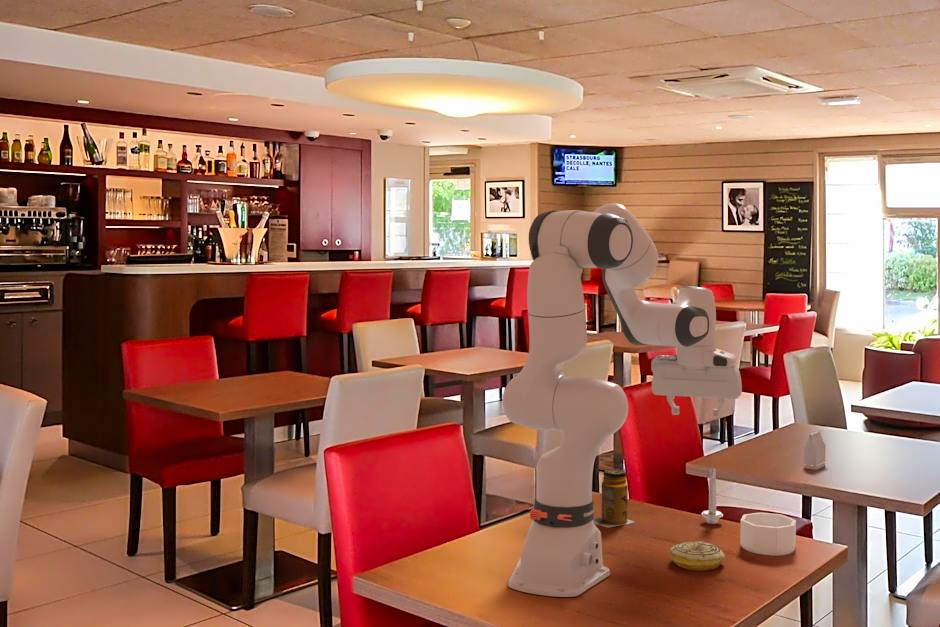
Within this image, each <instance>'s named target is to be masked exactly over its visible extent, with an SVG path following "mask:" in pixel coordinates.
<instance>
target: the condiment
mask: <svg viewBox="0 0 940 627" xmlns="http://www.w3.org/2000/svg"><path fill="white" fill-rule="evenodd" d="M628 486H629V485H628V483H627V472H626V471H625V470H623V469H619V468H617V469H616V468H615V469H614V468H613V469H612V468H611V469H605V470H603V478H602V483H601V516H599V517H594V519H593V522H594V524H595V525H598V526H601V527H602V528H603V527H604V528H607V529H609V528H610V529H611V528H613V527H617V526H619V527H620V526H625V525H630V524H633V523H635V521H634V520H631V519H628V506H629V505H628V495H629V494H628V489H629V487H628Z"/></svg>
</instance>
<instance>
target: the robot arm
mask: <svg viewBox="0 0 940 627" xmlns="http://www.w3.org/2000/svg"><path fill="white" fill-rule="evenodd" d="M528 247H529V250H530V255H531V258H532V260H533V261H532V262H531V263H530V265H529V267H528V268H529V269H528V276H527V285H526V286H527V290H526V297H527V298H526V302H527V304H526V305H527V318H528V329H529V331H528V332H529V335H528V336H529V346H528V347H529V350H528V353H527V354H528V355H527V359H526V361H525V363H524V365H523V367H522V369H521V370H520V371H519V373H518V374H516V375H515V376H514V377H513V378H511V380H509V382H507V385H506V387H505V388H504V391H503V394H502V401H501V402H502V409H503V412H504V414H505V416H506V418H507V420H509V421H510V422H511V423H513V424H515V425H519V426H521V427H525V428H528V429H531V430H541V431H542V430H543V431H552V432H560V433H562V441H561V443H560V445H559V446H557V447H555V448H553V449H551V450H548V451H547V452H545V453H543V454H542V455H541V456H540V458H539V459H538V461H537V463H536V468H535V470H536V471H535V473H536V479H535V480H536V481H535V482H536V484H535V486H536V487H535V491H536V493H535V494H536V497H535V499H534V502H533V506H532V508H531V509H530V512H529V519H530V520H532V522H530V524H529V525H530V526H529V529H528V532H527V534H526V538H525V541H524V543H523V547H522V550H521V552H520V558H519V560H518V561H517V564H516V566H515V568H514V570H513V572H512V574H511V575H510V578H509V580H508V586H507V587H509V588H510V589H513V590H516V591H519V592H523V593H526V594H527V593H528V594H533V595H539V596H545V597H546V596H547V597H555V598H556V597H558V598H559V597H560V598H561V597H562V598H571V597H573V598H574V597H578V596H579V595H581V594H583V593H584V592H586V591H587V590H589V589H590V588H592V587H593V586H595V585H597V584H598V583H600V582H601V581H603V580H605V579H606V578H607V577H609V576H610V575H611V571H610V570H611V569H610V568H609V567H607V566H604V565H603V562H604V561H603V545H602V544H603V543H602V532H601V531H600V529H599V528H598V526H596V524H595V523H594V522H593V519H595V511H596V510H595V508H596V507H595V502H594V499H593V498H592V497H593V496H592V494H593V492H592V491H593V475H594V474H593V473H594V464H595V461H596V460H595V459H596V458H597V454H598V452H599V450H600V448H601V447H602V445H603V444H604V443H605V441H607V439H608V438H609V437H611V436H612V435H614V434H615V433H616V432H617V431H619V430H621V428H622V426H623V425H624V423H625V422H626V420H627V417H628V414H629V413H628V412H629V402H628V398H627V395H626V393H625V391H624V389H623V387H621V386H620V385H619V384H616V383H615V382H614V383H613V382H610V381H607V380H603V379H599V378H595V377H594V378H593V377H579V376H578V377H577V376H568V375H565V374H564V364H566V363H569V362H571V361H573V360H574V359H576V358H578V357H579V356H580V355H582V354H583V352H584V351H585V350H586V348H587V344H588V332H587V329H588V328H587V319H586V318H587V317H586V304H585V297H584V296H585V295H584V289H583V285H582V284H583V283H582V280H581V278H582V273H583V270H584V269H598V268H599V269H601V270H602V272H601V278H602V279H601V280H602V282H603V285H604V288H605V291H606V292H607V295H608V297H609V299H610V302H611V303H612V305H613V306H612V307H613V308H614V309H615V313H616V314H617V317H618V318H619V321H620V327H621V330H622V333H623V335H624V337H625V338H626V340H627V341H628V342H629V343H630V344H632V345H634V346H659V347H673V348H676V355H663V354H659V355H657V356H656V357H654V358H652V360H651V362H650V363H651V366H650V367H651V368H650V369H651V372H652V374H653V375H652V378H651V392H652V393H653V395H655V396H666V401H667V402H668V404H669V406H670V408H671V415H672V416H675V415H676V416H678V415H680V406H679V405H676V403H675V402H674V399H676V398H675V397H691V398H707V399H708V398H709V399H710V398H711V399H712V398H713V399H717V400H718V401H717V403H719V405H718V406H717V408H715V407H714V408H713V409H712V413H713V415H712V417H713V418H721V416H722V408H723V407H724V405H725V403H726V402H727V401H726V400H727V399H730V400H731V399H732V400H737V399H738V398H740V397H741V395H742V394H743V393H742V392H743V389H742V388H743V384H742V377H741V371H740V370H739V368H738V367H737V365H736V362H737V356H736V355H735V354H734V353H731V352H728V351H725V350H722V349H719V348H717V342H716V337H715V331H716V327H717V311H716V309H717V308H716V302H715V296H714V292H713V291H712V290H711V289H710V288H707V287H702V286H700V287H699V286H690V285H689V286H682V287H681V288H679V291H678V297H677V298H676V299H675V300H674V301H672V302H670V303H663V302H662V303H661V302H651V301H647V300H643V299H640V298H639V296H638V293H637V292H636V290H635V288H637V287H639V286H641V285H643V284H645V283H646V282H647V281H648V280H649V279H651V277H652V276H653V275H654V272H656V270H657V267H658V264H659V252H658V249H657V246H656V245H655V243H654V241H653V239H652V238H651V236H650V234H649V233H648V232H647V230H646V229H645V227H644V226H643V225H642V223H641V222H640V221H639V219H637V217H636V216H635V215H634V214H633V213H632V212H631V211H630V210H629V209H628V208H626V206H624V205H623V204H620V203H613V202H612V203H611V202H610V203H606V204H603V205H601V206H599V207H597V208H596V209H595V210H593V211H585V210H582V209H574V210H573V209H571V210H568V209H567V210H558V209H555V210H548V211H545V212H541V213H540V214H538V215H537V216H536V217H534V219H533V221H532V223H531V224H530V228H529V230H528Z"/></svg>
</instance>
